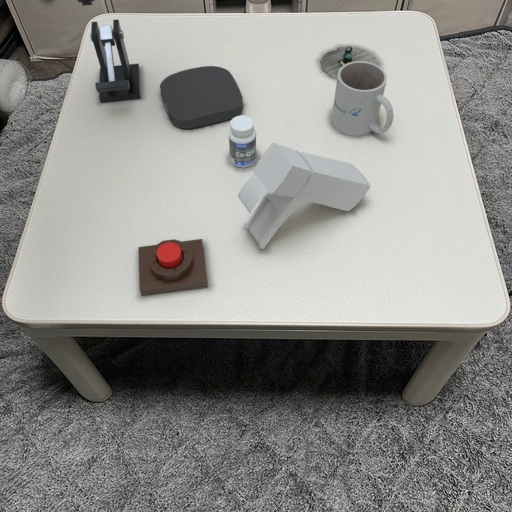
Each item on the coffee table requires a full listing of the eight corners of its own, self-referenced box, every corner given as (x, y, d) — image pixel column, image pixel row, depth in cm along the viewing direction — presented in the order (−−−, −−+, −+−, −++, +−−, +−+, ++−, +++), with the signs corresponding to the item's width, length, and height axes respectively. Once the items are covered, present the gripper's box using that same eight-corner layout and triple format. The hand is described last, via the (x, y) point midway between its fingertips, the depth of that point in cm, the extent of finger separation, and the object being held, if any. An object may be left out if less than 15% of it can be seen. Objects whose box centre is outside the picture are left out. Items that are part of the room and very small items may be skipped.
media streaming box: (248, 116, 100) (248, 104, 97) (175, 134, 97) (172, 121, 95) (225, 72, 108) (225, 59, 105) (157, 87, 105) (155, 75, 103)
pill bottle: (236, 171, 92) (234, 135, 85) (226, 154, 94) (223, 118, 87) (260, 163, 93) (260, 127, 86) (249, 146, 95) (248, 110, 88)
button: (159, 270, 76) (156, 263, 75) (157, 250, 78) (155, 243, 77) (183, 266, 77) (181, 260, 75) (181, 247, 79) (180, 240, 77)
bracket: (140, 98, 103) (126, 40, 93) (100, 102, 103) (81, 45, 92) (139, 68, 109) (126, 10, 98) (101, 72, 108) (83, 14, 98)
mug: (322, 114, 100) (328, 70, 92) (359, 100, 102) (368, 55, 94) (359, 154, 94) (368, 110, 85) (397, 138, 96) (410, 93, 88)
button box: (141, 296, 77) (137, 284, 75) (140, 253, 82) (136, 240, 79) (207, 287, 78) (205, 274, 75) (203, 244, 83) (200, 231, 80)
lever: (130, 90, 97) (128, 84, 94) (98, 94, 96) (95, 88, 94) (123, 31, 98) (121, 23, 96) (92, 34, 98) (88, 27, 95)
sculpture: (312, 73, 108) (322, 33, 105) (323, 79, 116) (333, 42, 114) (367, 86, 104) (379, 45, 102) (375, 91, 112) (386, 53, 110)
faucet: (373, 185, 83) (294, 164, 68) (312, 255, 91) (230, 249, 76) (350, 161, 86) (270, 135, 72) (294, 231, 94) (211, 220, 79)
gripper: (102, -140, 70) (129, -14, 85) (2, -133, 69) (47, -6, 84) (101, -118, 66) (130, 11, 80) (-5, -110, 65) (43, 19, 79)
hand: (87, 2), depth 82 cm, fingers closed
